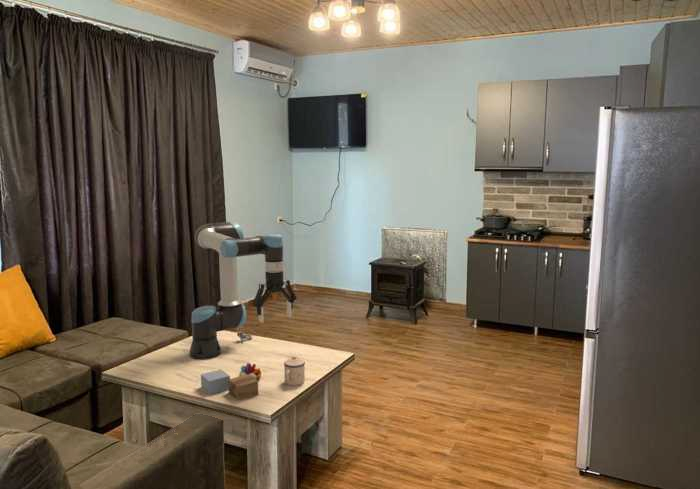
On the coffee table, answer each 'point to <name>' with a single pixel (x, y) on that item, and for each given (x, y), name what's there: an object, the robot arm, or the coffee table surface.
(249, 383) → the walnut brick
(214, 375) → the gray brick
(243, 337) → the elephant figurine
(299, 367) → the teacup with lid
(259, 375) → the rainbow petal toy
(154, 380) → the coffee table surface
